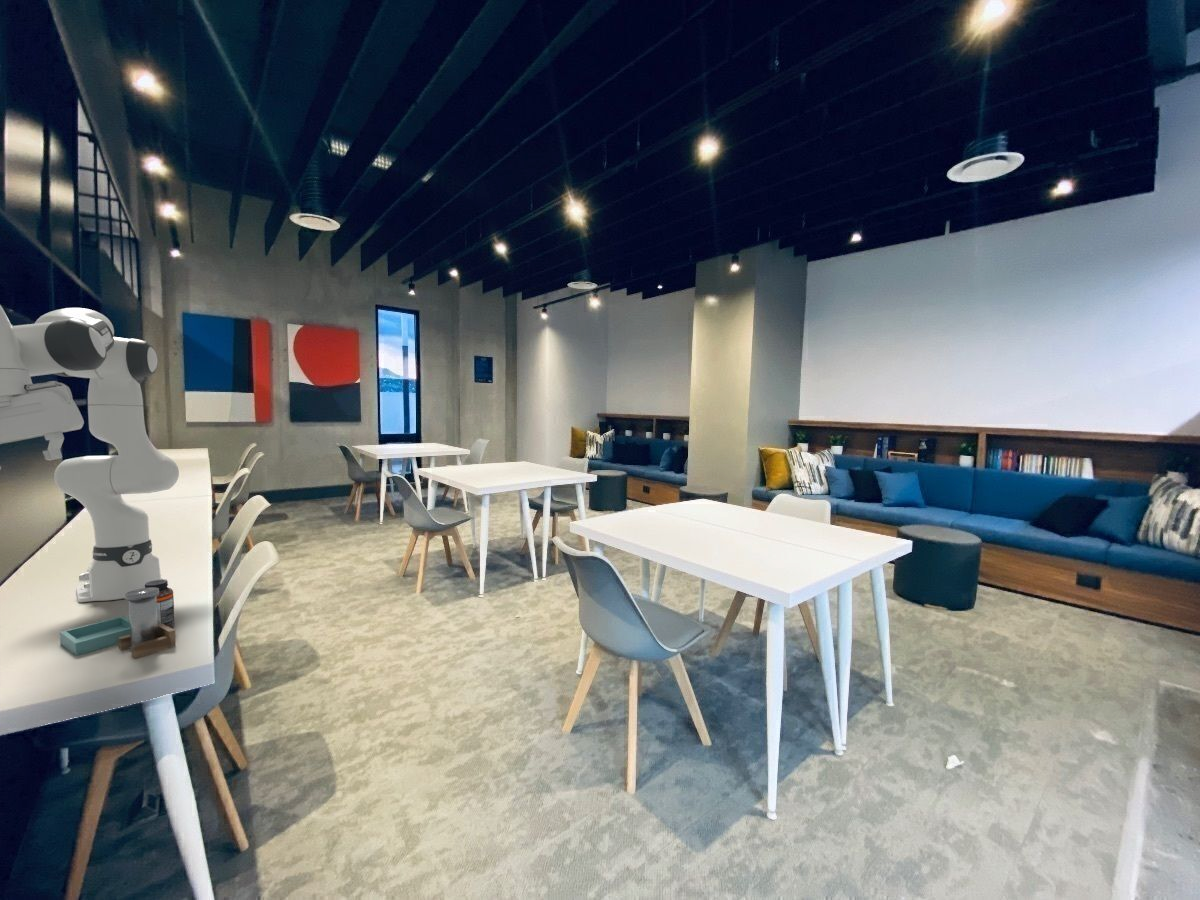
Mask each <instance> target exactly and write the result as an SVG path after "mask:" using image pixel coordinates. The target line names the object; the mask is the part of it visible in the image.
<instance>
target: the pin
mask: <svg viewBox="0 0 1200 900" xmlns="http://www.w3.org/2000/svg"><path fill="white" fill-rule="evenodd" d="M158 594H159V588H155V587H151V588H142V589H137V590H133V591H130V592H128V593H126V594H125V598H124V600H125V601H128V616H129V617H128V618H129V619H130V638H131V647H130V651H131V653H132V646H133V645H136V644H140V643H143V642H146V641H150V640H153V639H157V638H158V622H157V601H156V596H157V595H158Z"/></svg>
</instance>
